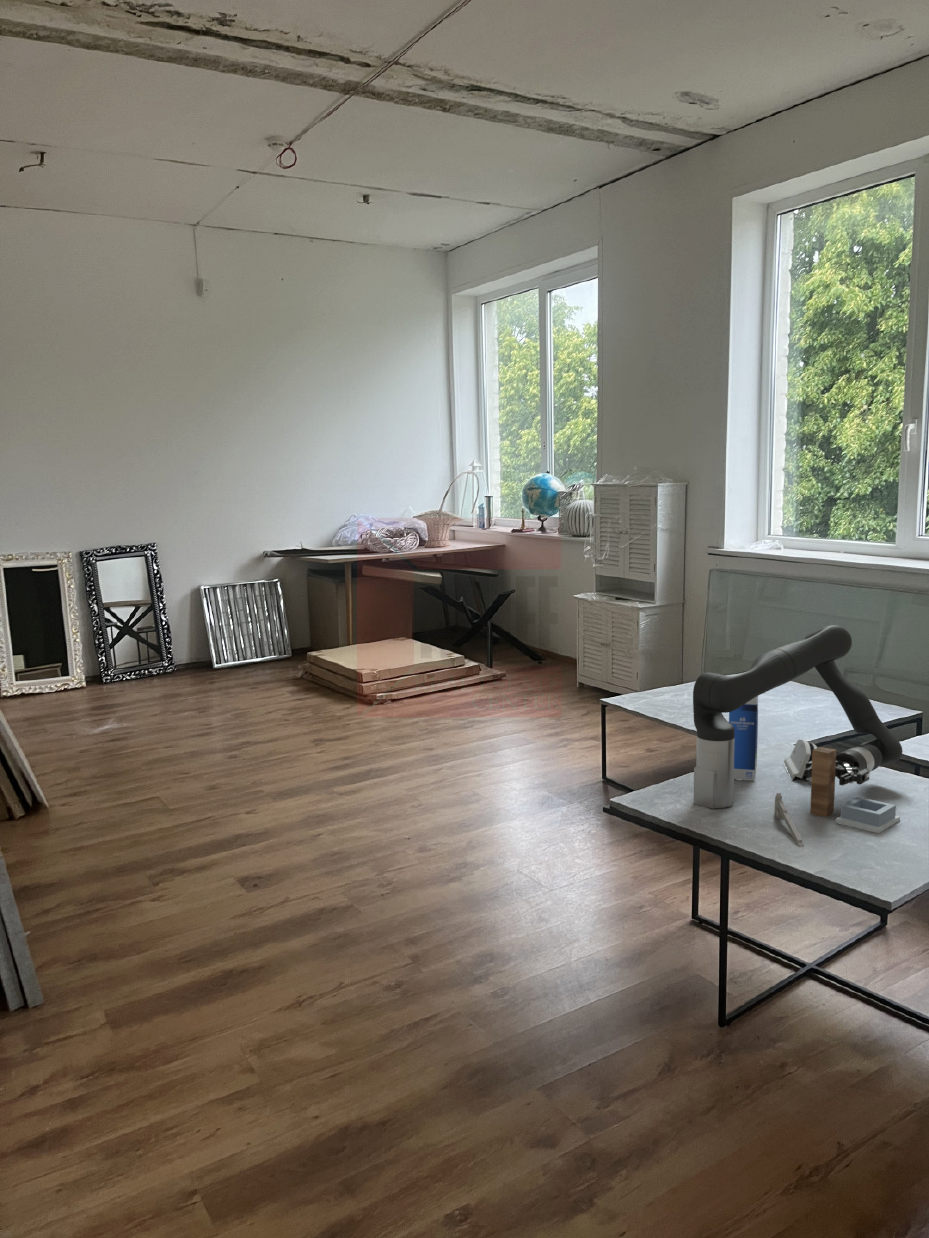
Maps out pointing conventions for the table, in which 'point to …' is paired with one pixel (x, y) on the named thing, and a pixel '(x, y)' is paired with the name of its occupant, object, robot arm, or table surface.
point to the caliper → (786, 818)
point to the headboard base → (868, 814)
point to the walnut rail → (823, 781)
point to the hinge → (799, 759)
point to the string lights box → (745, 739)
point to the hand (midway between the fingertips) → (823, 777)
